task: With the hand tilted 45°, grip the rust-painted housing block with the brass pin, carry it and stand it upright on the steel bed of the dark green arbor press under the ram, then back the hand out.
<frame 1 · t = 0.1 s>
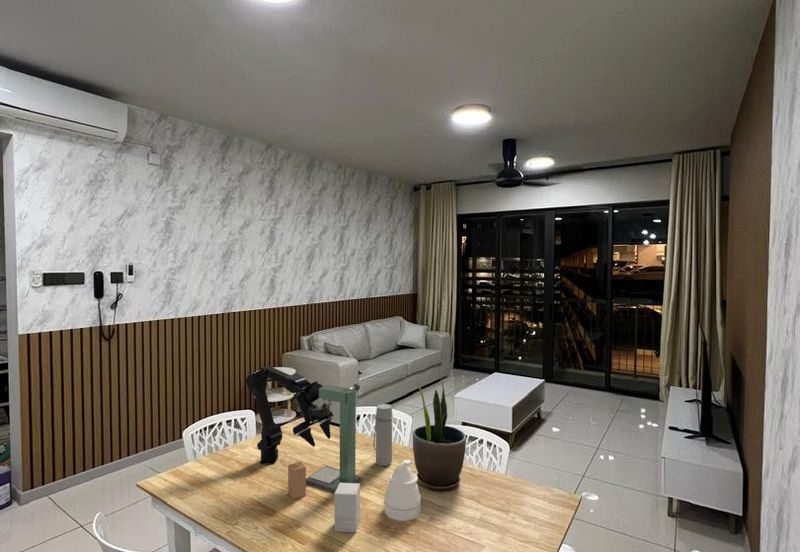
hand: (322, 442, 171), 15 cm above the table, tool tilted 35°, fingers open, 9 cm apart
water bottle: (382, 463, 186), on the table
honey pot: (402, 510, 150), on the table
arbor press: (327, 479, 171), on the table
potted plant: (438, 481, 170), on the table
supplement box: (347, 526, 141), on the table
housing: (296, 494, 159), on the table
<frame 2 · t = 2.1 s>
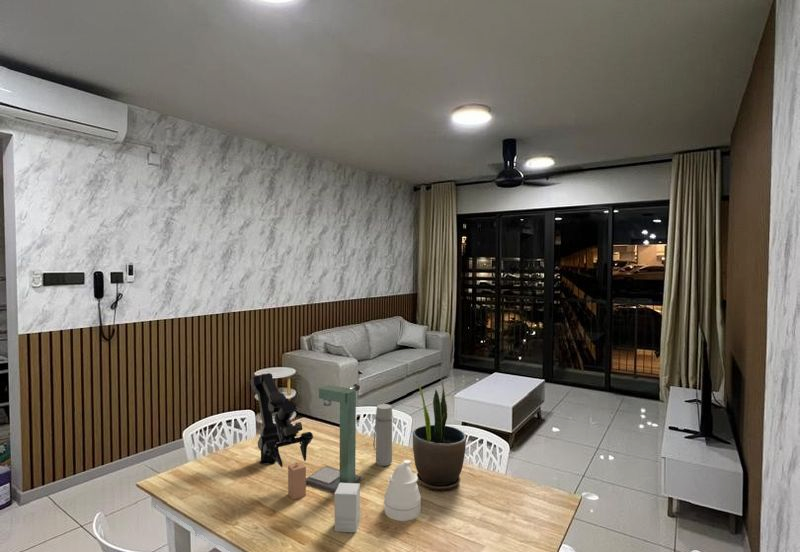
hand: (293, 463, 162), 11 cm above the table, tool tilted 45°, fingers open, 9 cm apart
nothing on the table moved.
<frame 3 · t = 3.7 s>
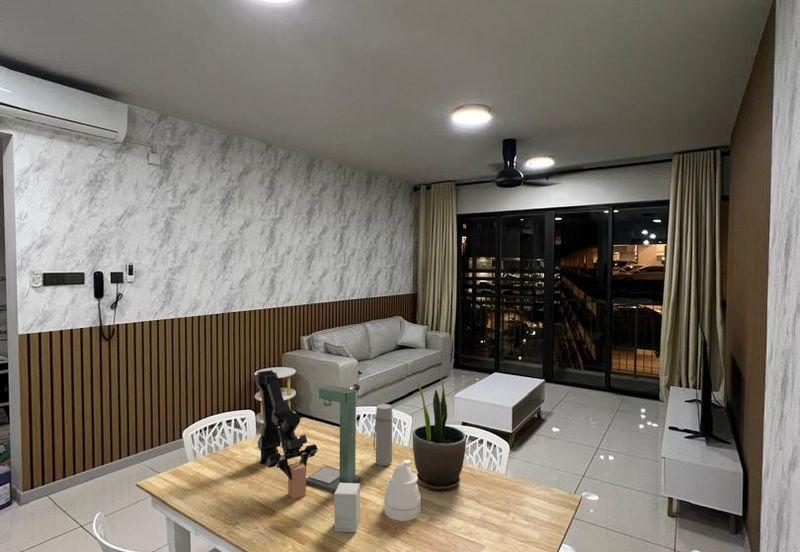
hand: (298, 477, 158), 7 cm above the table, tool tilted 45°, fingers closed on housing, 5 cm apart
housing: (296, 494, 159), on the table, touching gripper
everything else where it was.
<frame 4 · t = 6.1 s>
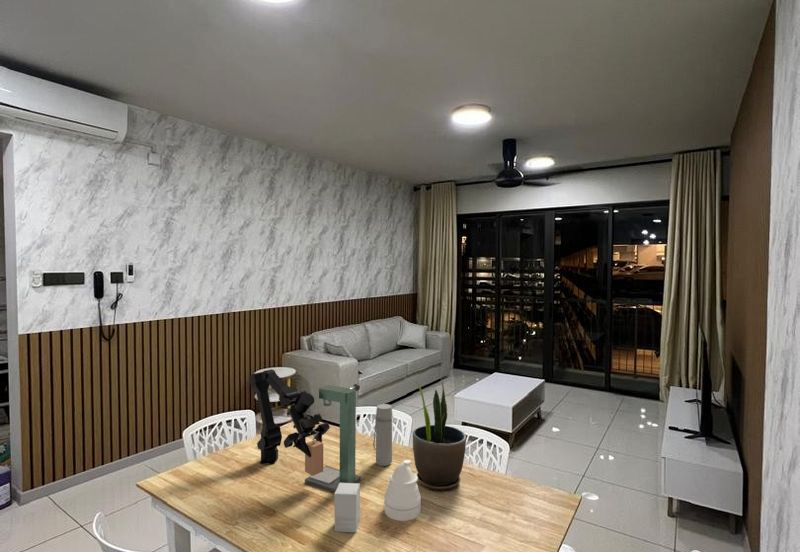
hand: (316, 454, 163), 13 cm above the table, tool tilted 45°, fingers closed on housing, 5 cm apart
housing: (314, 471, 165), point 6 cm above the table, touching gripper
everything else where it was.
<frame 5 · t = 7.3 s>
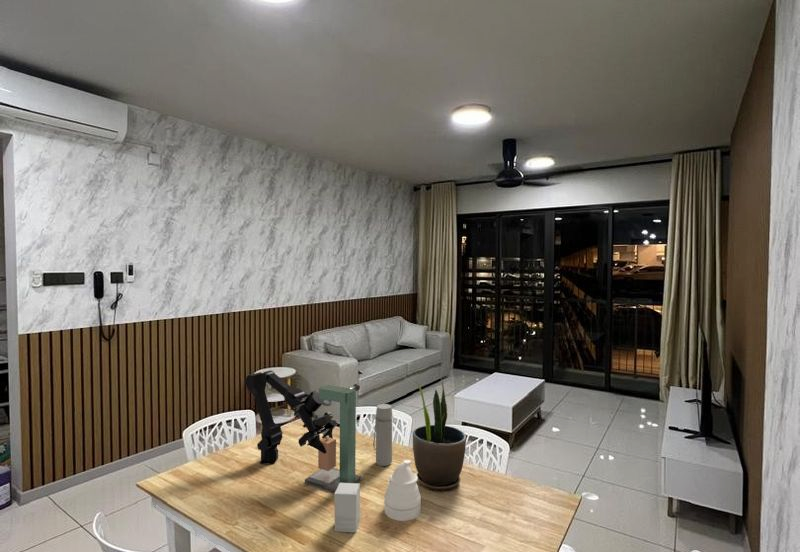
hand: (329, 450, 170), 12 cm above the table, tool tilted 45°, fingers closed on housing, 5 cm apart
housing: (327, 467, 171), point 5 cm above the table, touching gripper
everything else where it was.
when the fingers open (10 cm above the table, at t = 8.3 s): housing stays where it is, resting on arbor press.
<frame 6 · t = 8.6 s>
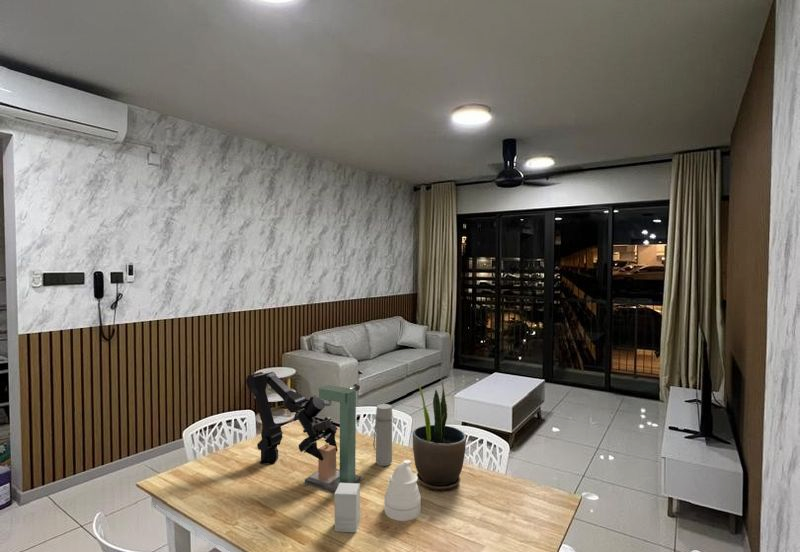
hand: (330, 455, 170), 10 cm above the table, tool tilted 45°, fingers open, 9 cm apart
housing: (327, 474, 171), point 2 cm above the table, touching arbor press
everything else where it was.
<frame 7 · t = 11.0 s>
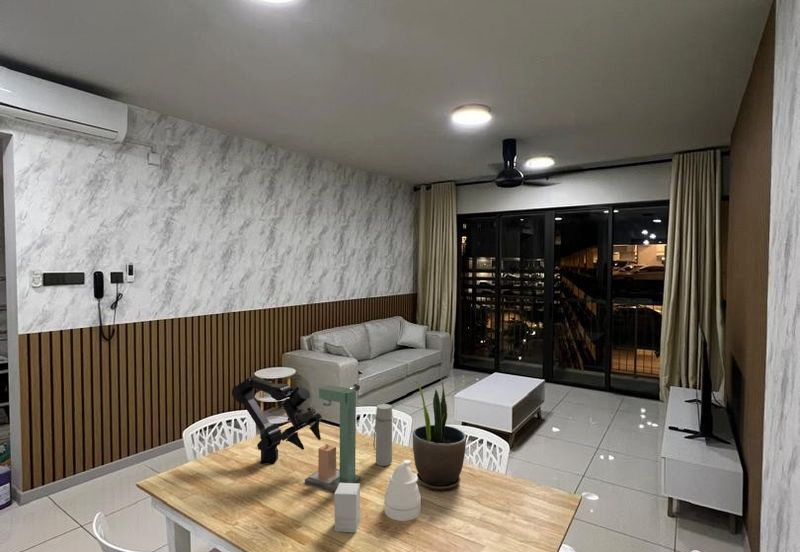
hand: (311, 444, 175), 12 cm above the table, tool tilted 40°, fingers open, 9 cm apart
nothing on the table moved.
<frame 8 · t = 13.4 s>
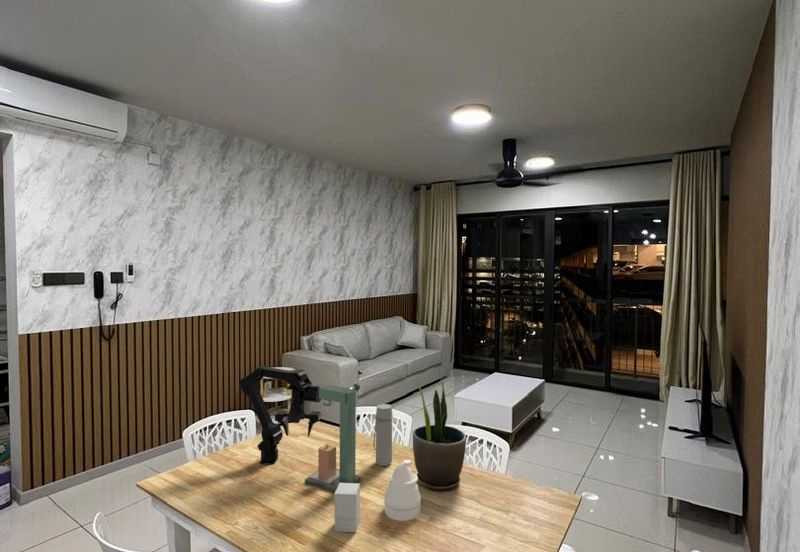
hand: (298, 435, 182), 13 cm above the table, tool pointing down, fingers open, 9 cm apart
nothing on the table moved.
at the end: housing 0.0 cm off-centre on the arbor press, point 2.0 cm above the arbor press's base; housing tilted 0°; the gripper is holding nothing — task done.
